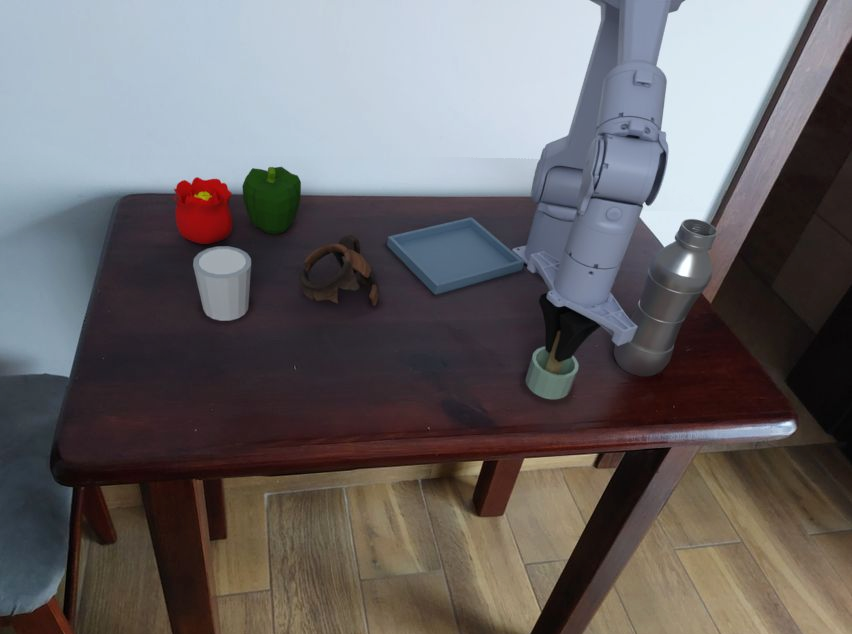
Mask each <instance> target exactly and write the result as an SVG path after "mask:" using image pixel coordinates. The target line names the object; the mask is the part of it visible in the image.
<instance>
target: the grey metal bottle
mask: <svg viewBox="0 0 852 634" xmlns="http://www.w3.org/2000/svg"><path fill="white" fill-rule="evenodd" d="M717 235H718V230H717V228H716V227H715V226H714V225H712V224H710V223H709V222H707V221H706V220H705V221H704V220H701V219H696V218H687V219H684V220H683V221H682V222H681V224H680V226H679V228H678V230H677V231H676V233H675V235H674V241H673V242H670V243H669V244H667V245H665V246H664V247H662V248H661V249H659V251H657V253H656V254H654V256H653V257H652V258H651V261H650V263H649V266H648V270H647V275H646V279H645V282H644V286H643V289H642V292H641V294H640V298H639V301H638V303H637V306H636V308H635V310H634V311H633V313H632V315H631V317H630V318H629V319H630V320H631V321H632V322H633V323H634V324H635V325H637V326H638V327H637V330H636V332H635V334H634V336H633V339H632V341H630V342H627V343H625V344H622V345H619V346H617V345H616V344H615V343H614V348H613V356H614V359H615V362H616V364H617V365H618V366H619V367H620V368H621V369H622V370H623V371H625V372H627V373H629V374H631V375H633V376H638V377H642V378H643V377H653V376H655V375H657V374H659V373H661V372H662V371H663V370H664V369H665V368H666V367H667V366H668V364H669V363H670V361H671V359H672V356H673V352H674V347H675V343H676V341H677V338H678V335H679V332H680V330H681V327H682V324H683V323H684V322H685V319H686V317H687V316H688V314H689V313H690V311H691V309H692V307H693V306H694V304H695V303H696V302H697V301H698V299H699V297H700V296H701V295H702V294H703V292H704V291H705V290H706V288H707V287H708V285H709V284H710V282H711V280H712V277H713V264H712V260H711V257H710V255H709V252H708V251H711V249H712V248H713V246H714V241H715V240H716V237H717Z"/></svg>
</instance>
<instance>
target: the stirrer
mask: <svg viewBox="0 0 852 634" xmlns="http://www.w3.org/2000/svg"><path fill="white" fill-rule="evenodd" d="M559 338H560V331H558V333H557V336H556V339H555V341H554V344H553V347H552V350H551V353H550V356H549V359H548V362H547V365H546V368H545V370H546V371H547V372H549V373H552V374H557V375H559V373H560V370H561V367H562V364H563V362H564V361H561V362H558V361H557V360H556V359H555V351H556V348H557V345H558V342H559Z"/></svg>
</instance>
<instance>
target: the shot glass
mask: <svg viewBox="0 0 852 634" xmlns="http://www.w3.org/2000/svg"><path fill="white" fill-rule="evenodd" d="M192 266H193V267H192V268H193V270H194V276H195V280H196V284H197V288H198V292H199V297H200V301H201V302H200V303H201V306H202V310H203V312H204V313H205V315H206V316H207V317H209V318H210V319H213V320H215V321H221V322H225V321H228V322H229V321H234V320H237V319H239V318H241V317H243V316H244V315H246V313H247V312H248V311H249V303H250V286H251V271H252V258H251V257H250V255H249V254H248V252H246V251H244V250H243V249H241V248H238V247H233V246H229V245H228V246H227V245H225V246H223V245H222V246H221V245H220V246H213V247H209V248H208V247H207V248H206V249H203V250H202V251H200V252H198V253H197V254H196V256H194V258H193V263H192Z"/></svg>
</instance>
